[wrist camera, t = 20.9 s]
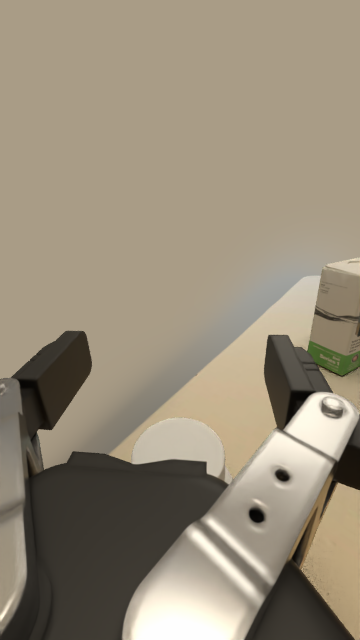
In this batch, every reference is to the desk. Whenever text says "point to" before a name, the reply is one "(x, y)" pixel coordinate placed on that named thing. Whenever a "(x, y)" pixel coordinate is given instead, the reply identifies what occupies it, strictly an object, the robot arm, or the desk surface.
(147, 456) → the pill bottle
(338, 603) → the desk surface
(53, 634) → the robot arm
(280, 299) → the desk surface
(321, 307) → the ink box
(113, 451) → the desk surface
